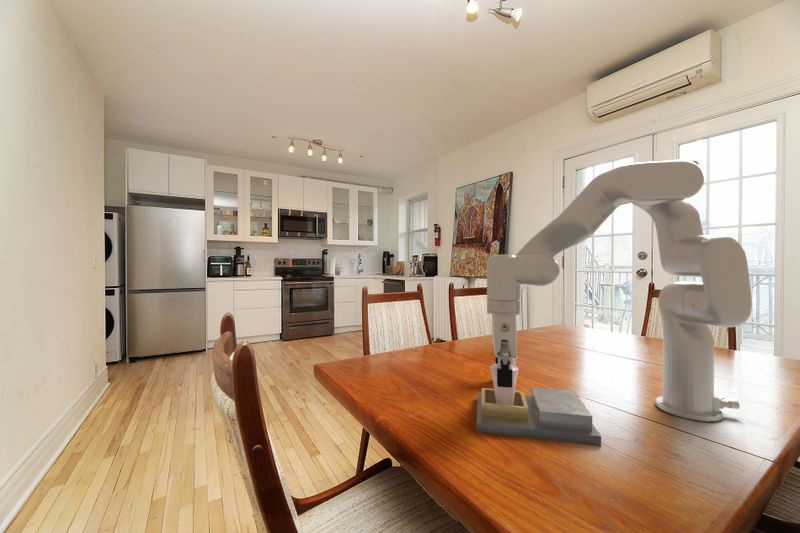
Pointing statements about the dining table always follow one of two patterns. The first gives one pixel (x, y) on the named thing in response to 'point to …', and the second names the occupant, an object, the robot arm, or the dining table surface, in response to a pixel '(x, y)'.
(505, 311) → the robot arm
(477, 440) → the dining table surface
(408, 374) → the dining table surface
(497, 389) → the smoothie
